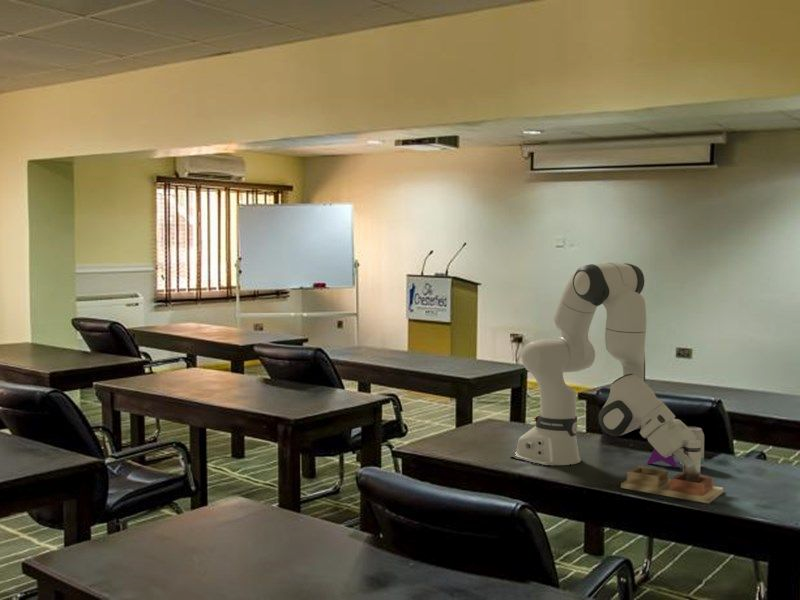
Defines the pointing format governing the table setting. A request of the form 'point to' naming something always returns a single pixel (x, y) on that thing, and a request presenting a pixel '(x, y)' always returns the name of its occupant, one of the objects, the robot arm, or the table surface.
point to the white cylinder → (693, 461)
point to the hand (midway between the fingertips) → (693, 461)
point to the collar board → (671, 485)
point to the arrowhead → (661, 458)
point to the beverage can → (699, 437)
